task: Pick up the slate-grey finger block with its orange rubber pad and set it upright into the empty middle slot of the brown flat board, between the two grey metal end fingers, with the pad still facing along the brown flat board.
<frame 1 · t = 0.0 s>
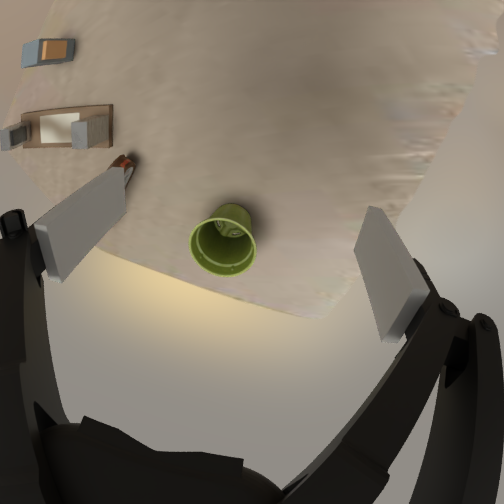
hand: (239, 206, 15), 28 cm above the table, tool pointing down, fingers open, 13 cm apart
tin: (119, 187, 46), on the table
plant pot: (232, 220, 47), on the table
finger block: (65, 51, 32), on the table
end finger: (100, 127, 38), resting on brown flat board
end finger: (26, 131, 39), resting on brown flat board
brown flat board: (63, 126, 39), on the table
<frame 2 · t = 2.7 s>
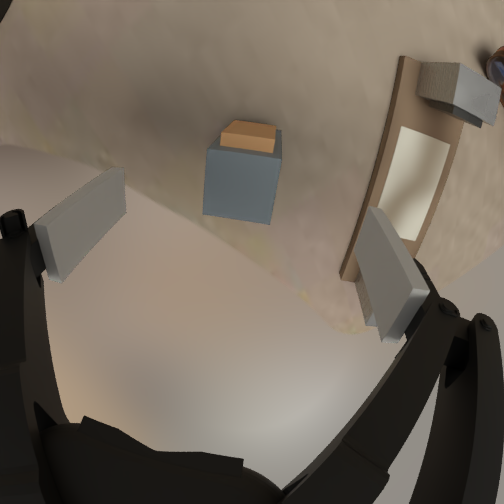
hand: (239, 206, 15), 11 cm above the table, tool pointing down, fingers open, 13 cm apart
finger block: (253, 149, 23), on the table
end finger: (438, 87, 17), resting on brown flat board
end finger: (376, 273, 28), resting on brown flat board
brown flat board: (405, 182, 23), on the table
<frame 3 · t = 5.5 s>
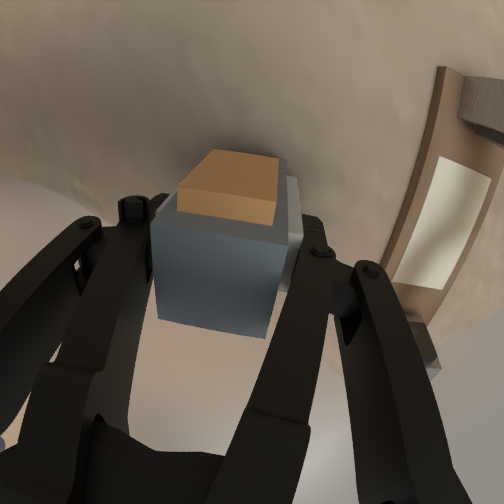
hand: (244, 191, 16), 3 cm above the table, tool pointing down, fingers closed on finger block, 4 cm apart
finger block: (245, 186, 17), point 2 cm above the table, touching gripper
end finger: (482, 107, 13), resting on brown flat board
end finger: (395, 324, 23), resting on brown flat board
brown flat board: (437, 223, 19), on the table
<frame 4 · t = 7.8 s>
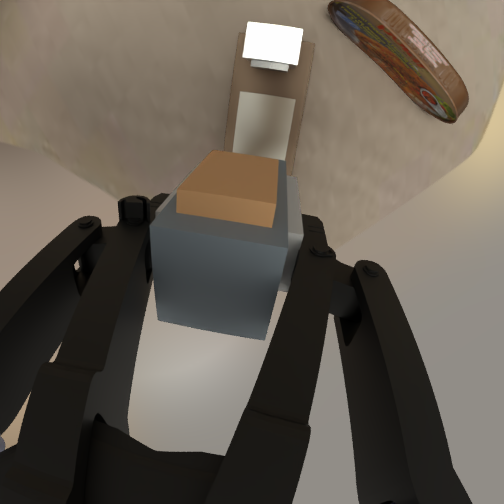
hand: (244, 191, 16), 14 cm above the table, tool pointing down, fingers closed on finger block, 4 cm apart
tin: (387, 56, 22), on the table
finger block: (245, 187, 17), point 14 cm above the table, touching gripper
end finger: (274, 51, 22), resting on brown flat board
brown flat board: (261, 141, 28), on the table
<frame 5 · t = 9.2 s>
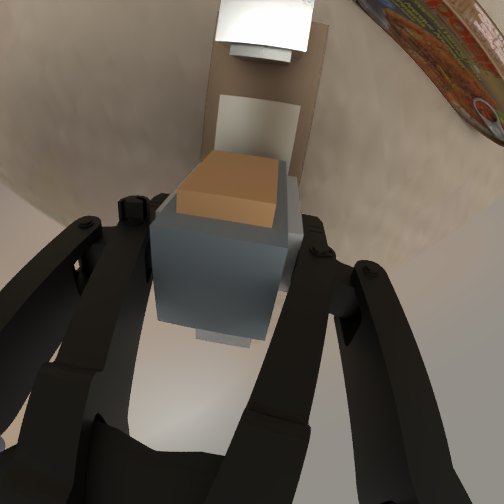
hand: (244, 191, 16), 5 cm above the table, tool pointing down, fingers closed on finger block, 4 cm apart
tin: (425, 50, 14), on the table
finger block: (245, 187, 17), point 5 cm above the table, touching gripper
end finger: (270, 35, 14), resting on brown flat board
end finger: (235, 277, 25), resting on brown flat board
brown flat board: (251, 165, 21), on the table
when the fingers open (3 cm above the table, at t = 10.4 s): finger block stays where it is, resting on brown flat board.
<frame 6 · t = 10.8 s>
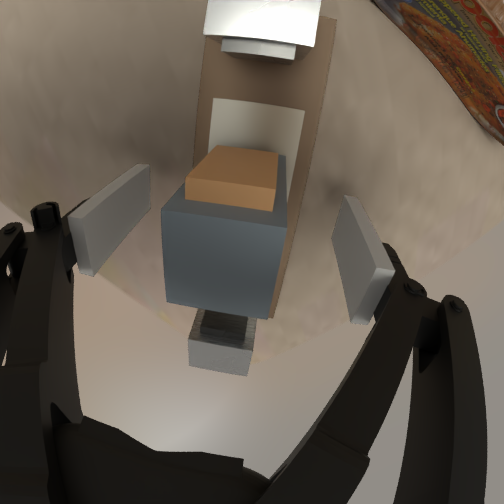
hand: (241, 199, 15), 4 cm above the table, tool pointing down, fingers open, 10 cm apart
tin: (441, 50, 12), on the table
finger block: (247, 181, 18), point 1 cm above the table, touching brown flat board
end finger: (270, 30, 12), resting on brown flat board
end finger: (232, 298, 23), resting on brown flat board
brown flat board: (249, 176, 19), on the table
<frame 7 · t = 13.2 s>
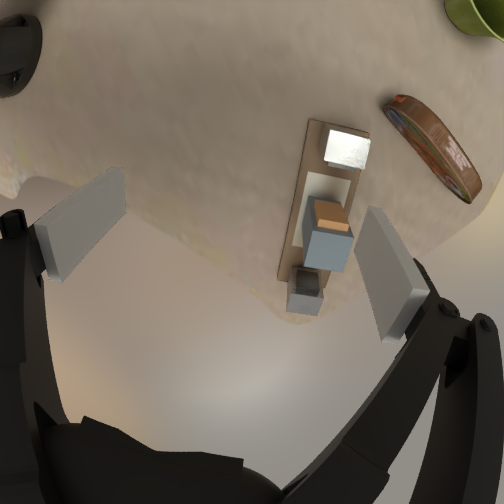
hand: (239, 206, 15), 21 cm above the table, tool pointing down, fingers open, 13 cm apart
tin: (422, 141, 30), on the table
plant pot: (462, 14, 19), on the table
finger block: (320, 213, 35), point 1 cm above the table, touching brown flat board
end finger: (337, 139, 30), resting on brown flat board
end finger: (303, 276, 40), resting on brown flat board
brown flat board: (319, 210, 36), on the table
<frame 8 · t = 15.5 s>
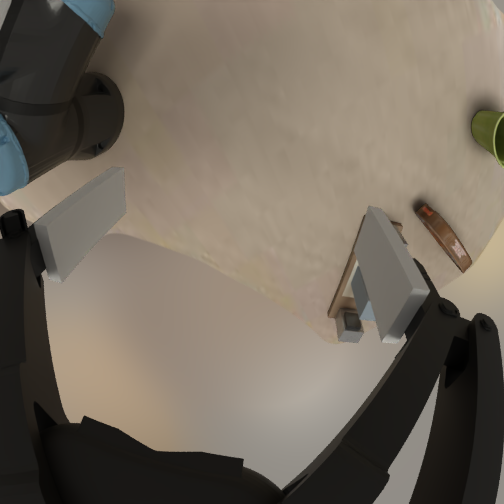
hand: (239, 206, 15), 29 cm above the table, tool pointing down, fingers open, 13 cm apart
tin: (436, 226, 44), on the table
plant pot: (482, 127, 33), on the table
finger block: (364, 276, 49), point 1 cm above the table, touching brown flat board
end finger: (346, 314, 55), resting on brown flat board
brown flat board: (362, 272, 51), on the table
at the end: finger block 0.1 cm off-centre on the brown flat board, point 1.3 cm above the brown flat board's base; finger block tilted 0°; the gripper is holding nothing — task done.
